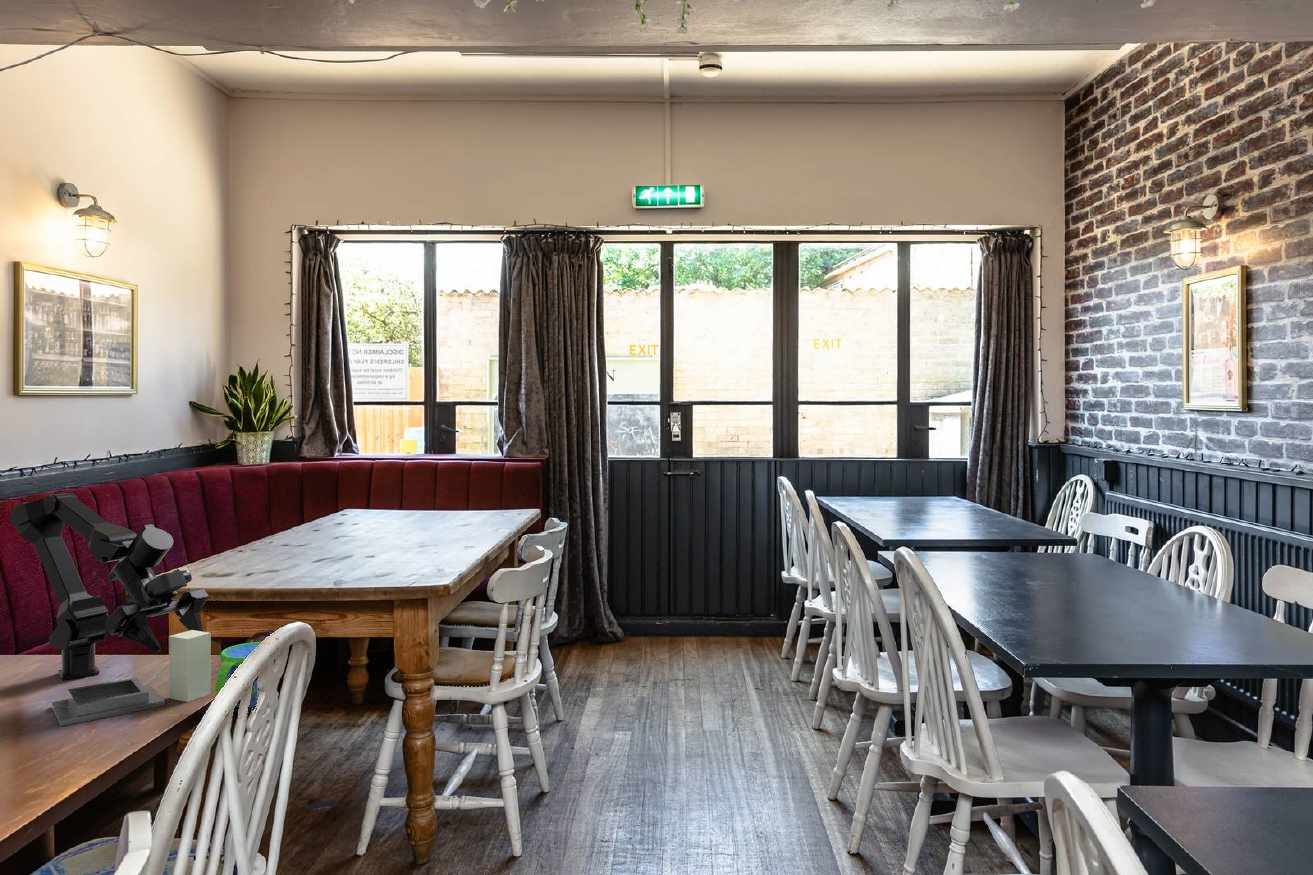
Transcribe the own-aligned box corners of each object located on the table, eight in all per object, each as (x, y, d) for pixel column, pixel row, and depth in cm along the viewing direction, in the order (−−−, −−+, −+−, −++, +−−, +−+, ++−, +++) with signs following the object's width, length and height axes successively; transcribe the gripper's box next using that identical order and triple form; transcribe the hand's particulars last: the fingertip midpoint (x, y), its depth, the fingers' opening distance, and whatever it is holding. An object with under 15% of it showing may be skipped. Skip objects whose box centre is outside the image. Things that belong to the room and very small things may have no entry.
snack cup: (238, 720, 152) (238, 663, 152) (195, 711, 156) (195, 656, 156) (304, 693, 167) (304, 642, 166) (264, 686, 171) (264, 635, 170)
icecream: (280, 640, 181) (290, 628, 195) (243, 633, 179) (256, 622, 194) (270, 673, 180) (282, 658, 195) (233, 666, 178) (248, 652, 193)
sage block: (169, 698, 163) (169, 636, 162) (192, 690, 167) (192, 630, 167) (188, 702, 161) (187, 639, 161) (210, 693, 166) (210, 632, 165)
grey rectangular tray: (51, 707, 157) (50, 691, 157) (150, 689, 168) (150, 674, 167) (60, 726, 148) (60, 709, 148) (164, 705, 159) (164, 689, 159)
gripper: (114, 564, 158) (157, 629, 154) (202, 549, 175) (242, 607, 171) (86, 602, 161) (127, 667, 157) (175, 584, 178) (214, 642, 174)
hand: (181, 644), depth 165 cm, fingers open, 9 cm apart
